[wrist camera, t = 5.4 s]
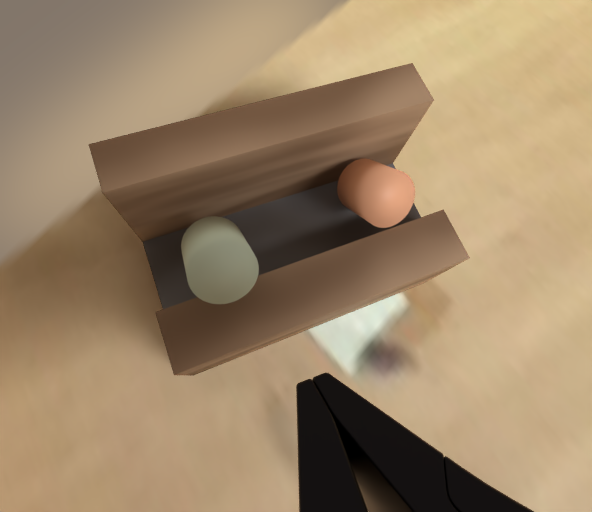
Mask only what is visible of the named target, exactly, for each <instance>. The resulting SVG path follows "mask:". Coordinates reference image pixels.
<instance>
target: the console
mask: <svg viewBox="0 0 592 512" xmlns="http://www.w3.org/2000/svg"><path fill="white" fill-rule="evenodd" d="M433 101H434V99H433V97H432V96H431V94H430V92H429V91H428V89H427V87H426V86H425V84H424V82H423V80H422V79H421V77H420V75H419V74H418V72H417V70H416V69H415V67H414V65H413V63H411V64H407V65H403V66H399V67H395V68H391V69H387V70H383V71H379V72H375V73H371V74H367V75H363V76H359V77H355V78H351V79H347V80H343V81H339V82H335V83H331V84H327V85H323V86H319V87H315V88H311V89H307V90H303V91H299V92H295V93H291V94H287V95H283V96H279V97H275V98H271V99H267V100H263V101H259V102H256V103H252V104H248V105H244V106H240V107H236V108H232V109H228V110H224V111H220V112H216V113H212V114H208V115H204V116H200V117H196V118H192V119H188V120H184V121H180V122H176V123H172V124H168V125H164V126H160V127H156V128H152V129H148V130H144V131H140V132H136V133H132V134H128V135H124V136H120V137H116V138H112V139H108V140H104V141H100V142H97V143H92V144H89V147H90V150H91V154H92V157H93V161H94V164H95V168H96V171H97V175H98V178H99V182H100V186H101V189H102V193H103V194H104V195H105V196H106V198H107V199H108V200H109V201H110V202H111V204H112V205H113V206H114V207H115V209H116V210H117V211H118V212H119V213H120V215H121V216H122V217H123V218H124V220H125V221H126V222H127V223H128V224H129V226H130V227H131V228H132V229H133V231H134V232H135V233H136V234H137V235H138V237H139V238H140V239H141V240H142V242H143V244H144V248H145V251H146V254H147V258H148V261H149V264H150V267H151V271H152V274H153V277H154V281H155V284H156V287H157V290H158V294H159V297H160V300H161V304H162V307H163V310H160V311H157V312H156V316H157V319H158V323H159V326H160V329H161V333H162V336H163V339H164V343H165V346H166V349H167V353H168V356H169V359H170V363H171V366H172V369H173V373H174V375H195V374H198V373H200V372H203V371H205V370H208V369H210V368H213V367H215V366H218V365H220V364H223V363H225V362H228V361H230V360H233V359H235V358H238V357H240V356H243V355H245V354H248V353H250V352H253V351H255V350H258V349H260V348H263V347H265V346H268V345H270V344H273V343H275V342H278V341H280V340H283V339H285V338H288V337H290V336H293V335H295V334H298V333H300V332H303V331H305V330H308V329H310V328H313V327H315V326H318V325H320V324H323V323H325V322H328V321H330V320H333V319H335V318H338V317H340V316H343V315H345V314H348V313H350V312H353V311H355V310H358V309H360V308H363V307H365V306H368V305H370V304H373V303H375V302H378V301H380V300H383V299H385V298H388V297H390V296H393V295H395V294H398V293H400V292H402V291H405V290H407V289H410V288H412V287H415V286H417V285H420V284H422V283H425V282H427V281H429V280H430V279H432V278H434V277H436V276H438V275H440V274H441V273H443V272H445V271H447V270H449V269H450V268H452V267H454V266H456V265H458V264H460V263H461V262H463V261H465V260H467V259H469V258H470V257H469V256H468V254H467V252H466V250H465V248H464V246H463V245H462V243H461V241H460V239H459V237H458V235H457V234H456V232H455V230H454V228H453V226H452V224H451V223H450V221H449V219H448V217H447V215H446V213H445V212H444V210H441V211H438V212H435V213H433V214H430V215H427V216H424V217H421V216H420V214H419V212H418V211H417V209H416V207H415V205H414V203H413V205H412V207H411V209H410V211H409V213H408V214H407V215H406V216H405V218H404V219H403V220H401V221H400V222H399V223H397V224H396V225H394V226H391V227H387V228H380V227H376V226H374V225H372V224H371V223H369V222H368V221H366V220H365V219H363V218H362V217H360V216H359V215H357V214H356V213H354V212H353V211H351V210H350V209H348V208H347V207H345V206H344V205H343V204H342V203H341V201H340V199H339V197H338V193H337V185H338V180H339V177H340V175H341V173H342V172H343V170H344V169H345V168H346V167H347V166H348V165H349V164H350V163H352V162H353V161H355V160H358V159H371V160H373V161H376V162H378V163H381V164H384V165H386V166H389V167H391V168H394V169H395V167H394V165H393V162H394V160H395V159H396V157H397V156H398V154H399V153H400V151H401V150H402V148H403V147H404V145H405V144H406V142H407V141H408V139H409V138H410V136H411V134H412V133H413V131H414V130H415V128H416V127H417V125H418V124H419V122H420V121H421V119H422V118H423V116H424V115H425V113H426V111H427V110H428V108H429V107H430V105H431V104H432V102H433ZM211 216H217V217H223V218H226V219H228V220H230V221H232V222H233V223H234V224H235V225H236V226H237V227H238V228H239V229H240V231H241V233H242V234H243V236H244V238H245V239H246V241H247V243H248V244H249V246H250V248H251V249H252V251H253V253H254V255H255V256H256V258H257V261H258V265H259V273H258V278H257V280H256V283H255V285H254V286H253V288H252V289H251V290H250V291H249V292H248V293H247V294H246V295H245V296H244V297H242V298H240V299H239V300H237V301H234V302H231V303H227V304H212V303H208V302H205V301H203V300H201V299H199V298H198V297H197V296H196V295H195V294H194V293H193V292H192V290H191V289H190V287H189V284H188V281H187V276H186V271H185V266H184V261H183V256H182V250H181V242H182V238H183V235H184V233H185V232H186V230H187V229H188V228H189V227H190V226H191V225H192V224H193V223H194V222H196V221H198V220H200V219H202V218H205V217H211Z"/></svg>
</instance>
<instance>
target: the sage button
mask: <svg viewBox="0 0 592 512" xmlns="http://www.w3.org/2000/svg"><path fill="white" fill-rule="evenodd" d="M181 250H182V256H183V261H184V266H185V271H186V276H187V281H188V284H189V287H190V289H191V290H192V292H193V293H194V294H195V295H196V296H197V297H198V298H199V299H201V300H203V301H205V302H208V303H212V304H227V303H231V302H234V301H237V300H239V299H240V298H242V297H244V296H245V295H246V294H247V293H248V292H249V291H250V290H251V289H252V288H253V286H254V285H255V283H256V280H257V278H258V273H259V265H258V261H257V258H256V256H255V255H254V253H253V251H252V249H251V248H250V246H249V244H248V243H247V241H246V239H245V238H244V236H243V234H242V233H241V231H240V229H239V228H238V227H237V226H236V225H235V224H234V223H233V222H232V221H230V220H228V219H226V218H223V217H217V216H211V217H205V218H202V219H200V220H198V221H196V222H194V223H193V224H192V225H191V226H190V227H189V228H188V229H187V230H186V232H185V233H184V235H183V238H182V242H181Z"/></svg>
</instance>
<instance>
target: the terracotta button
mask: <svg viewBox="0 0 592 512" xmlns="http://www.w3.org/2000/svg"><path fill="white" fill-rule="evenodd" d="M337 193H338V197H339V199H340V201H341V203H342V204H343V205H344V206H345V207H347V208H348V209H350V210H351V211H353V212H354V213H356V214H357V215H359V216H360V217H362V218H363V219H365V220H366V221H368V222H369V223H371V224H372V225H374V226H376V227H380V228H387V227H391V226H394V225H396V224H397V223H399V222H400V221H401V220H403V219H404V218H405V216H406V215H407V214H408V213H409V211H410V209H411V207H412V205H413V202H414V198H415V187H414V184H413V181H412V179H411V178H410V177H409V176H408V175H407V174H406V173H404V172H402V171H399V170H397V169H394V168H391V167H389V166H386V165H384V164H381V163H378V162H376V161H373V160H371V159H358V160H355V161H353V162H352V163H350V164H349V165H348V166H347V167H346V168H345V169H344V170H343V172H342V173H341V175H340V177H339V180H338V185H337Z"/></svg>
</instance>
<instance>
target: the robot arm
mask: <svg viewBox="0 0 592 512" xmlns="http://www.w3.org/2000/svg"><path fill="white" fill-rule="evenodd" d="M296 389H297V430H298V472H299V512H368V511H369V512H534V511H532V510H530V509H529V508H527V507H525V506H523V505H522V504H520V503H518V502H516V501H515V500H513V499H511V498H510V497H508V496H506V495H505V494H503V493H501V492H500V491H498V490H496V489H495V488H493V487H491V486H490V485H488V484H486V483H485V482H483V481H482V480H480V479H479V478H477V477H476V476H474V475H473V474H471V473H470V472H468V471H467V470H465V469H464V468H462V467H461V466H459V465H458V464H457V463H455V462H454V461H452V460H451V459H450V458H448V457H446V456H445V457H444V455H443V454H442V453H441V452H439V451H438V450H437V449H435V448H434V447H432V446H431V445H429V444H428V443H427V442H425V441H424V440H422V439H421V438H420V437H418V436H417V435H415V434H414V433H412V432H411V431H410V430H408V429H407V428H405V427H404V426H402V425H401V424H400V423H398V422H397V421H395V420H394V419H393V418H391V417H390V416H388V415H387V414H385V413H384V412H383V411H381V410H380V409H378V408H377V407H376V406H374V405H373V404H371V403H370V402H368V401H367V400H366V399H364V398H363V397H361V396H360V395H359V394H357V393H356V392H354V391H353V390H351V389H350V388H349V387H347V386H346V385H344V384H343V383H342V382H340V381H339V380H337V379H336V378H334V377H333V376H332V375H330V374H329V373H323V374H321V375H318V376H316V377H314V378H313V380H311V379H308V380H305V381H303V382H300V383H298V384H297V387H296Z"/></svg>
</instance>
